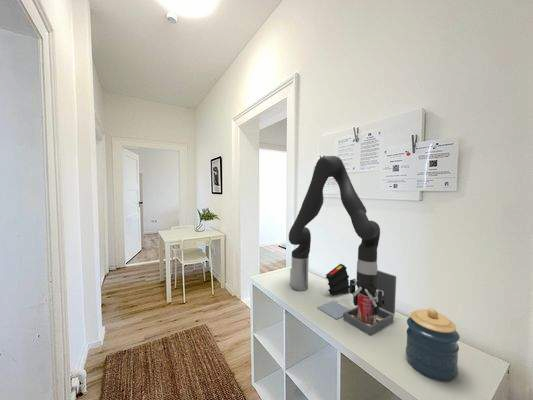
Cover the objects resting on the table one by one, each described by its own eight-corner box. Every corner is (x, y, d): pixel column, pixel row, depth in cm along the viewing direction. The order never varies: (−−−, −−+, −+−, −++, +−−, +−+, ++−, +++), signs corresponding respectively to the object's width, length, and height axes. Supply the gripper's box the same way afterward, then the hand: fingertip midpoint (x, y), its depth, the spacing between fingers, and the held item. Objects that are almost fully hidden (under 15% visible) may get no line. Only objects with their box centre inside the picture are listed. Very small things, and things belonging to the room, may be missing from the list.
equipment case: (343, 319, 93) (344, 274, 92) (367, 308, 102) (369, 267, 101) (370, 335, 83) (371, 285, 82) (394, 321, 92) (396, 276, 91)
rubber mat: (316, 307, 102) (316, 306, 102) (333, 301, 108) (333, 300, 108) (336, 319, 93) (336, 318, 93) (353, 312, 99) (353, 311, 99)
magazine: (354, 288, 118) (345, 265, 115) (336, 303, 114) (327, 279, 110) (349, 285, 122) (340, 263, 119) (331, 300, 117) (322, 276, 114)
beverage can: (360, 316, 95) (361, 288, 95) (376, 322, 91) (377, 293, 90) (354, 322, 91) (355, 293, 90) (370, 329, 87) (371, 299, 86)
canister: (434, 349, 76) (436, 298, 75) (470, 382, 63) (473, 321, 62) (396, 350, 75) (398, 299, 75) (425, 383, 63) (427, 321, 62)
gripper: (345, 266, 94) (344, 304, 95) (378, 278, 82) (377, 321, 83) (357, 263, 98) (355, 300, 99) (389, 274, 86) (388, 315, 87)
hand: (365, 309), depth 91 cm, fingers open, 8 cm apart
